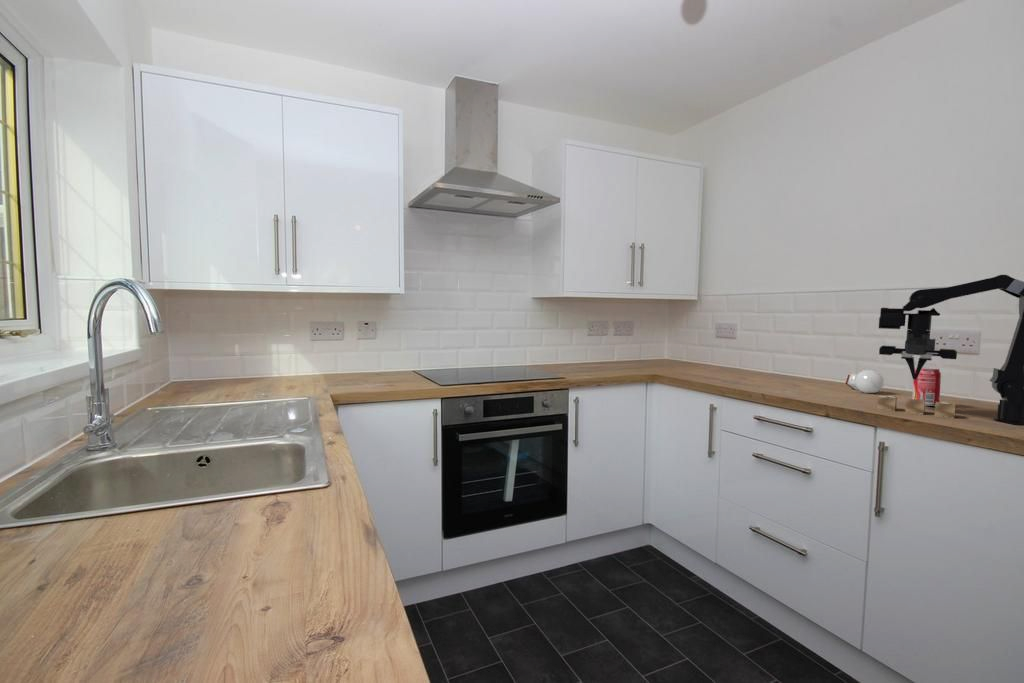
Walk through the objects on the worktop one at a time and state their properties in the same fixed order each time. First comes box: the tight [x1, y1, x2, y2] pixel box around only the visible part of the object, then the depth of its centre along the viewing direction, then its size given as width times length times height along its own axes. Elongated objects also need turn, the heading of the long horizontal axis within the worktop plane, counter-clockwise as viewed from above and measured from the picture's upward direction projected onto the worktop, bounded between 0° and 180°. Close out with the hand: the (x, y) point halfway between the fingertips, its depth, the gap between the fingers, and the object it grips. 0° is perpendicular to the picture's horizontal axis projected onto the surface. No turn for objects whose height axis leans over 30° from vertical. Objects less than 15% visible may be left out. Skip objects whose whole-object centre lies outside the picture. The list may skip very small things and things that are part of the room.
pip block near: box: [934, 401, 956, 419], centre depth 152 cm, size 4×4×4 cm
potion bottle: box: [845, 369, 885, 394], centre depth 199 cm, size 9×10×15 cm
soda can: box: [911, 366, 942, 406], centre depth 169 cm, size 7×7×13 cm
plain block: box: [904, 398, 926, 414], centre depth 157 cm, size 4×4×4 cm
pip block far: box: [877, 395, 898, 411], centre depth 161 cm, size 4×4×4 cm
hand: (914, 379), depth 157 cm, fingers closed
